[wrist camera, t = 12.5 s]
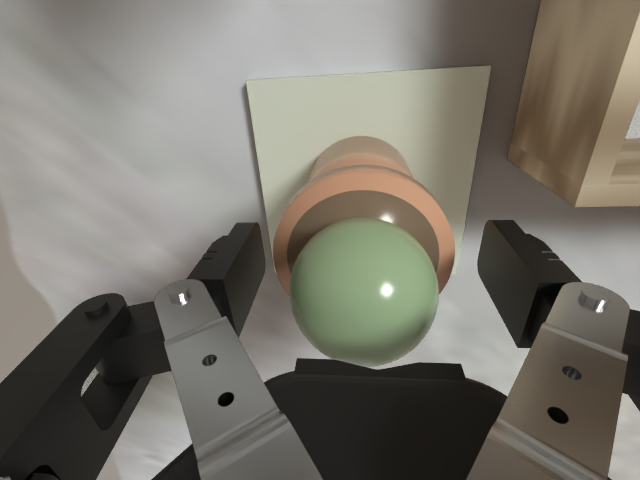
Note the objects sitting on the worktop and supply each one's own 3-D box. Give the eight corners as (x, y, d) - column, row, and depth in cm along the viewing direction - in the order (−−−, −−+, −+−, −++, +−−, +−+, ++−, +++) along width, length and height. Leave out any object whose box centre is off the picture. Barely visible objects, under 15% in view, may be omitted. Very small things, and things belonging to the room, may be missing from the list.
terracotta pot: (296, 130, 17) (216, 235, 7) (424, 124, 16) (526, 232, 6) (306, 239, 20) (259, 415, 10) (414, 238, 19) (474, 427, 9)
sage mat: (248, 80, 16) (245, 80, 16) (487, 65, 15) (491, 65, 15) (276, 269, 22) (274, 273, 21) (454, 269, 20) (456, 274, 20)
